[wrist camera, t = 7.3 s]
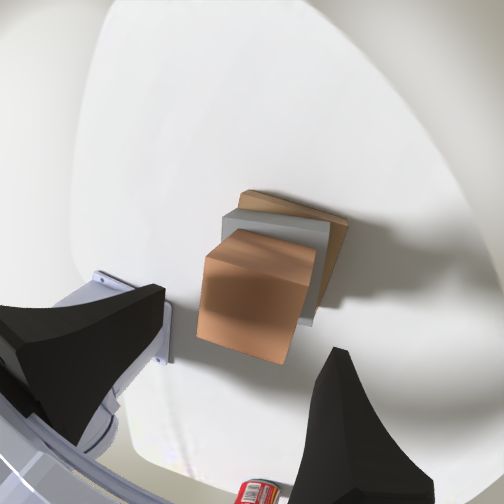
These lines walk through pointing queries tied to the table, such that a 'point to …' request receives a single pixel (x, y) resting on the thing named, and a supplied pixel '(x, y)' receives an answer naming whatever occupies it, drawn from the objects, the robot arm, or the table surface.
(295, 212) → the tower base
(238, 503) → the soda can
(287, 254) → the terracotta block
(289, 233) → the tower top
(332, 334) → the table surface
